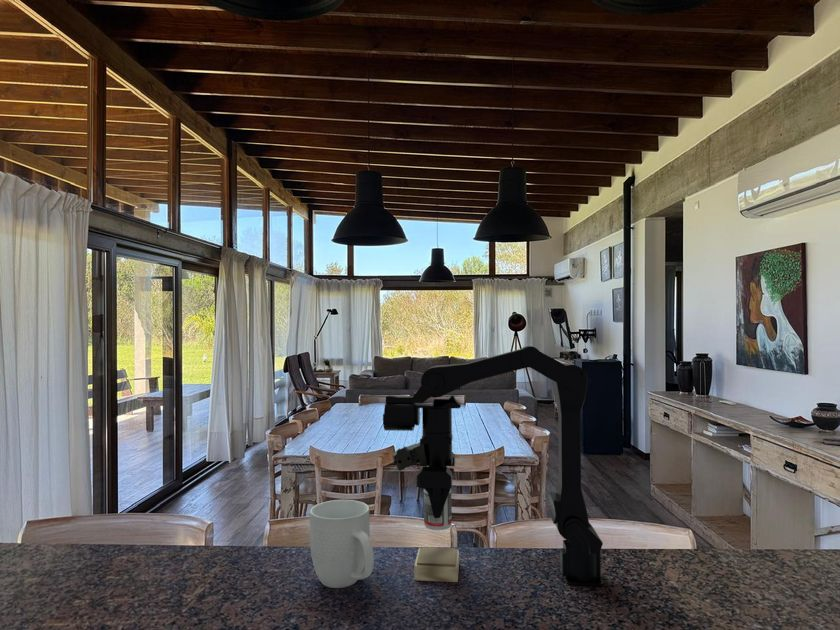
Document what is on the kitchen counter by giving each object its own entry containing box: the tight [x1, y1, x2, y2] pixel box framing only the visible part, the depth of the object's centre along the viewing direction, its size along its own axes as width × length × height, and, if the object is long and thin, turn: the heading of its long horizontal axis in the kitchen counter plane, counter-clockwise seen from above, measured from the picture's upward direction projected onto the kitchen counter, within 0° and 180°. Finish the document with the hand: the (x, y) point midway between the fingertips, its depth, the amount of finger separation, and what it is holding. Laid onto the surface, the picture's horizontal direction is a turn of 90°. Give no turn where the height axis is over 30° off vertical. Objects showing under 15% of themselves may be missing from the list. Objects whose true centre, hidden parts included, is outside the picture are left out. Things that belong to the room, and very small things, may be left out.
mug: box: [309, 499, 375, 589], centre depth 94 cm, size 15×11×13 cm
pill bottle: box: [423, 488, 453, 531], centre depth 99 cm, size 5×5×10 cm
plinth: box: [413, 546, 460, 583], centre depth 98 cm, size 8×8×3 cm
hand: (437, 512), depth 99 cm, fingers closed on pill bottle, 5 cm apart
